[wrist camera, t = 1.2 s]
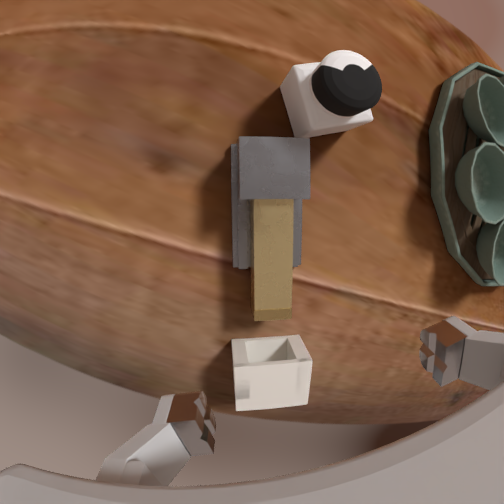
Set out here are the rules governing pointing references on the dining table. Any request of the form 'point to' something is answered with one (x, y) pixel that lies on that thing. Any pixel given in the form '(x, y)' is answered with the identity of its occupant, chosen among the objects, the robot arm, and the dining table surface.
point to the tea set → (471, 170)
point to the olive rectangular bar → (271, 258)
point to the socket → (270, 372)
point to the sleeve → (267, 185)
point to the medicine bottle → (331, 94)
